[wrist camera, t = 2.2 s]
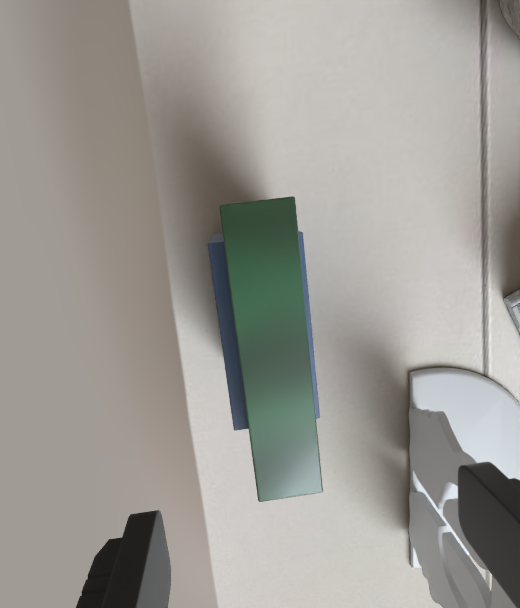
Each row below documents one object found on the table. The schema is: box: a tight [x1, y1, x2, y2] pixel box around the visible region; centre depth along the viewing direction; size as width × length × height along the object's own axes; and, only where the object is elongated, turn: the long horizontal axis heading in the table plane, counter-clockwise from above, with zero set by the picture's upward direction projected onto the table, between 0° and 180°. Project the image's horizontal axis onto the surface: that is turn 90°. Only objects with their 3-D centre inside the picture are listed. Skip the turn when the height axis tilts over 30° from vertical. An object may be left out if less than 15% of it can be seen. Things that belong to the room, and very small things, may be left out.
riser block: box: [208, 231, 320, 430], centre depth 32 cm, size 12×6×12 cm, turn 7°
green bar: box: [219, 197, 323, 502], centre depth 24 cm, size 16×4×5 cm, turn 7°
